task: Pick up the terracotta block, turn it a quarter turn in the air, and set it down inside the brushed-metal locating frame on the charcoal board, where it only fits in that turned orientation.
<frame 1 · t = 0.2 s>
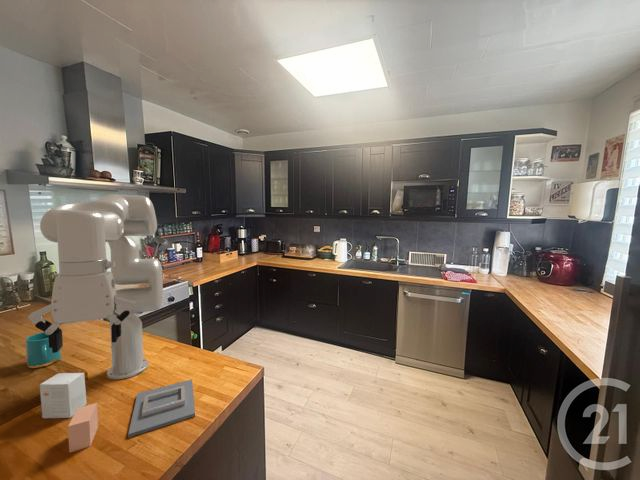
hand: (87, 344, 56), 30 cm above the worktop, tool pointing down, fingers open, 9 cm apart
nest board: (164, 405, 79), on the worktop
cup: (44, 364, 100), on the worktop
key block: (84, 438, 67), on the worktop
small box: (65, 412, 76), on the worktop
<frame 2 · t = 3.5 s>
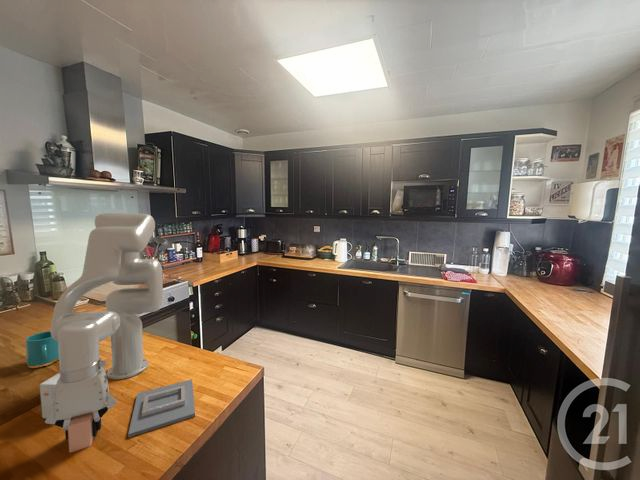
hand: (84, 435, 67), 1 cm above the worktop, tool pointing down, fingers closed on key block, 4 cm apart
key block: (84, 438, 67), on the worktop, touching gripper
everything else where it was.
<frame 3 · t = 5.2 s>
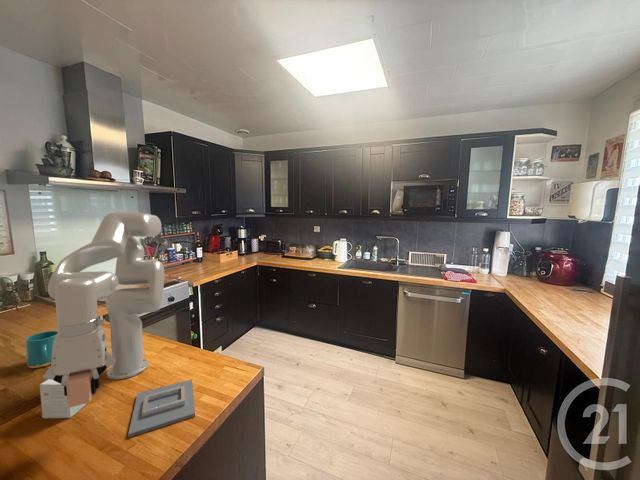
hand: (83, 393, 66), 12 cm above the worktop, tool pointing down, fingers closed on key block, 4 cm apart
key block: (83, 396, 67), point 11 cm above the worktop, touching gripper
everything else where it was.
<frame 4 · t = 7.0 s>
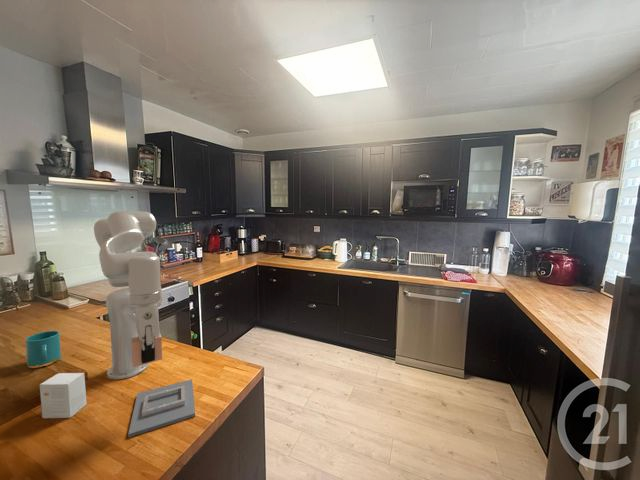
hand: (147, 357, 75), 17 cm above the worktop, tool pointing down, fingers closed on key block, 4 cm apart
key block: (147, 360, 75), point 16 cm above the worktop, touching gripper
everything else where it was.
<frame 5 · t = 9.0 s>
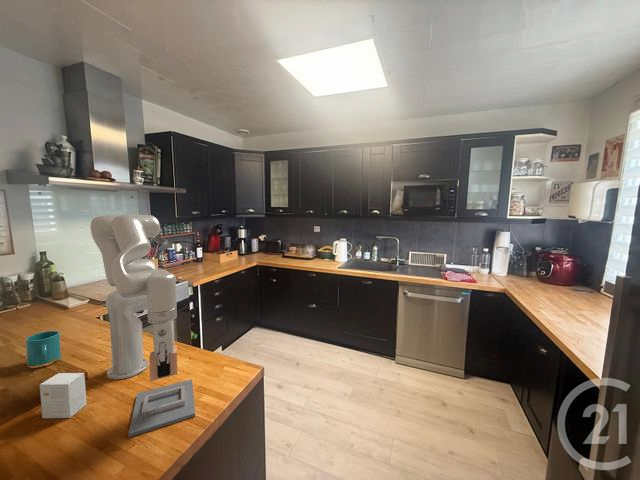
hand: (164, 371, 78), 11 cm above the worktop, tool pointing down, fingers closed on key block, 4 cm apart
key block: (164, 374, 78), point 10 cm above the worktop, touching gripper
everything else where it was.
when the fingers open (4 cm above the worktop, at t = 10.5 s): key block drops 2 cm, resting on nest board.
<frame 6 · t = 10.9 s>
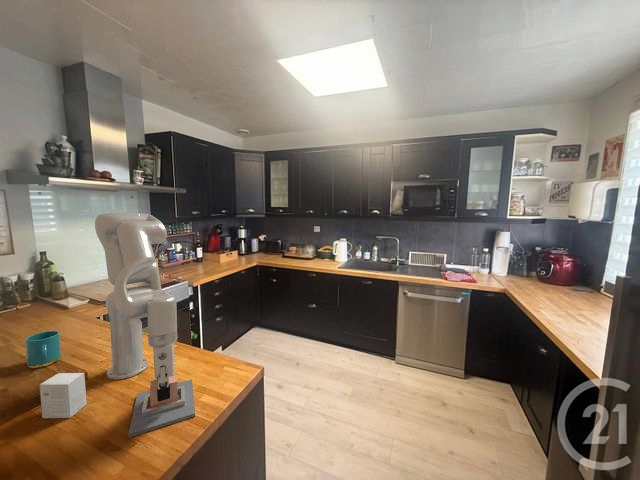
hand: (164, 390, 79), 5 cm above the worktop, tool pointing down, fingers open, 7 cm apart
key block: (164, 402, 79), point 1 cm above the worktop, touching nest board
everything else where it was.
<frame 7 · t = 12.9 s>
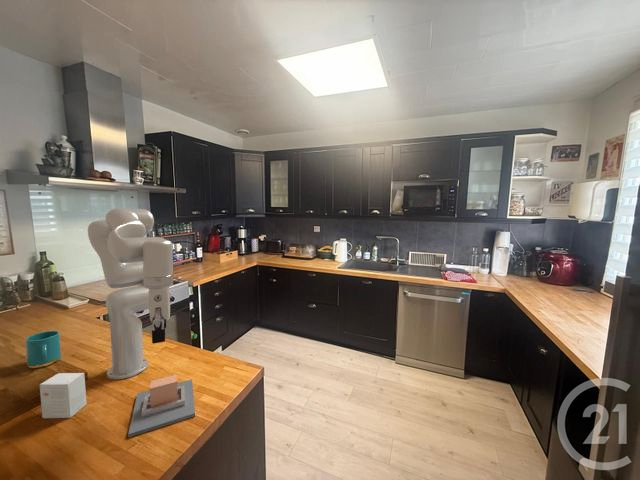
hand: (159, 335, 78), 23 cm above the worktop, tool pointing down, fingers open, 9 cm apart
nothing on the worktop moved.
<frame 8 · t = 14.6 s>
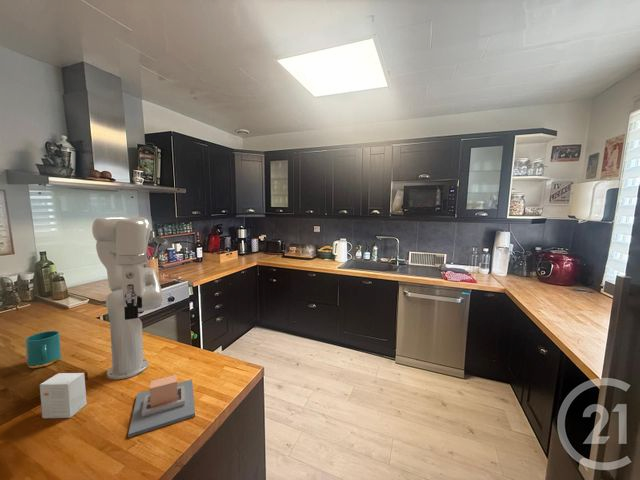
hand: (134, 313, 80), 28 cm above the worktop, tool pointing down, fingers open, 9 cm apart
nothing on the worktop moved.
at the end: key block 0.1 cm off-centre on the nest board, point 1.0 cm above the nest board's base; key block tilted 0°; the gripper is holding nothing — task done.
